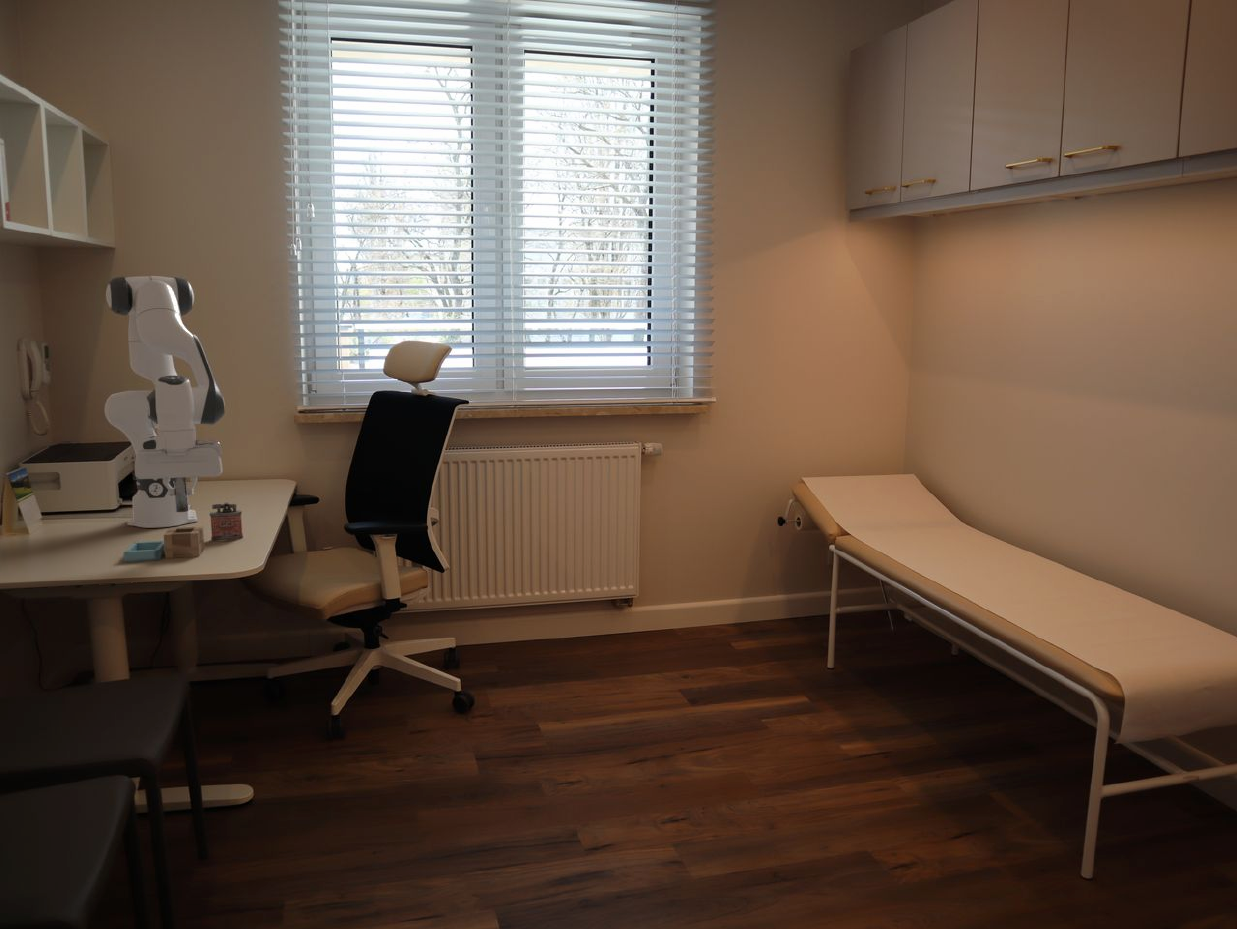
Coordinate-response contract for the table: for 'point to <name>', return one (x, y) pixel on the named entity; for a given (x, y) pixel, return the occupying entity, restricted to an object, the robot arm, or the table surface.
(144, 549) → the tray
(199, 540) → the bored block
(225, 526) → the lighter
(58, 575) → the table surface
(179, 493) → the post
